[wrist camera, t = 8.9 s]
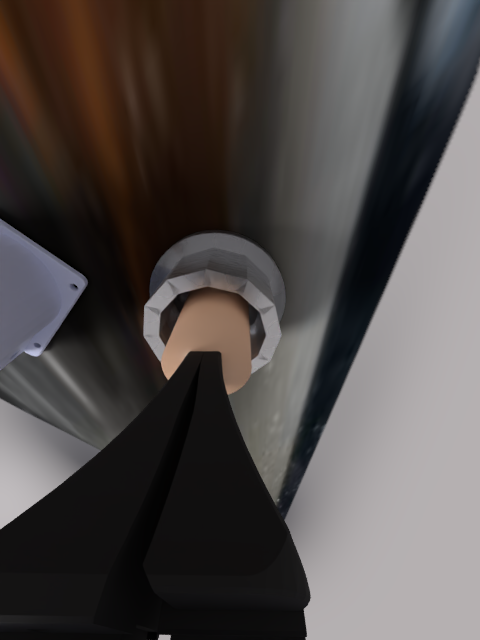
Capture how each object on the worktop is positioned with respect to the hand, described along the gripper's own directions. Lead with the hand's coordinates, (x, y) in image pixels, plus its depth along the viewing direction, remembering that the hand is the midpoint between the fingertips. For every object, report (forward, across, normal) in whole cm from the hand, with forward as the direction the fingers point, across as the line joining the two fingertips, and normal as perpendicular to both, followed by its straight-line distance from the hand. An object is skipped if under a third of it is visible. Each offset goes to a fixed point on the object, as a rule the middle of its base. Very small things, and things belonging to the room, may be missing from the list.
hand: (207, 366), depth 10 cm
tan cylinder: (+6, 0, 0) cm, 6 cm away
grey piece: (+7, 0, 0) cm, 7 cm away
